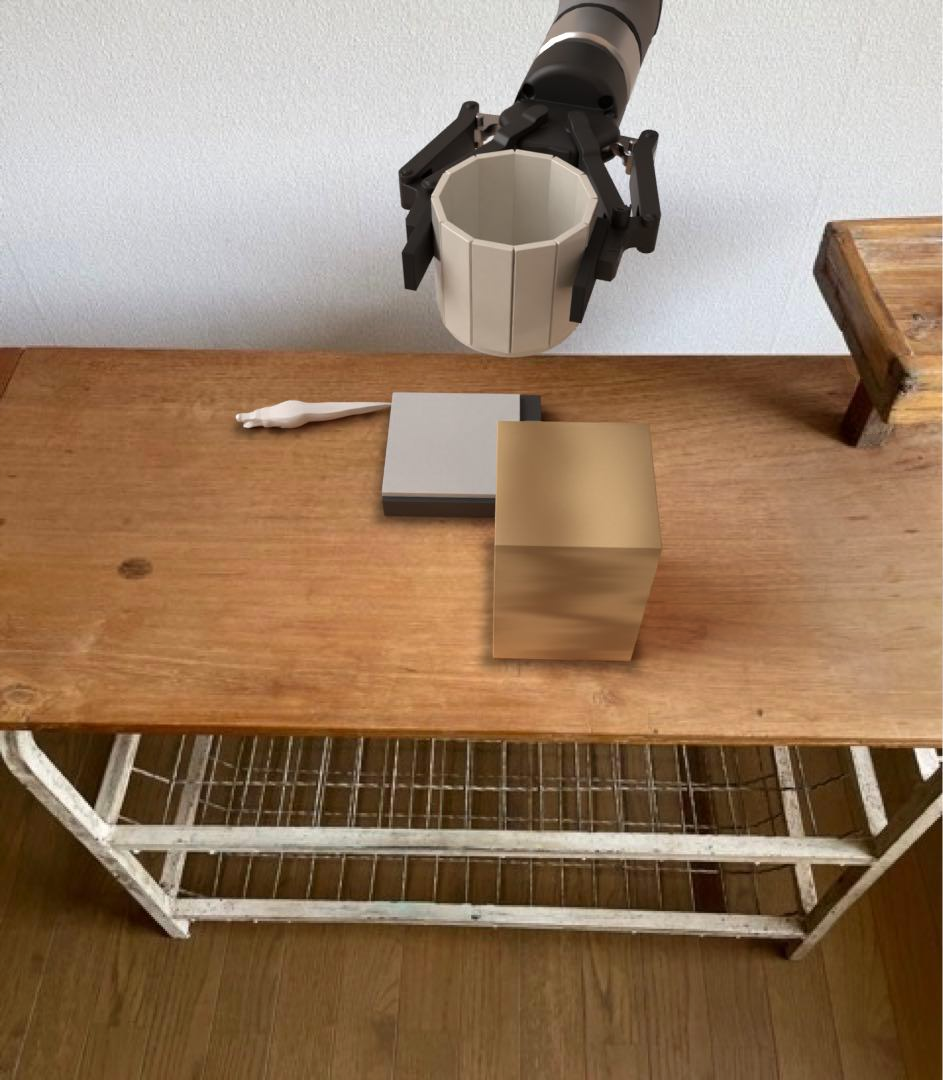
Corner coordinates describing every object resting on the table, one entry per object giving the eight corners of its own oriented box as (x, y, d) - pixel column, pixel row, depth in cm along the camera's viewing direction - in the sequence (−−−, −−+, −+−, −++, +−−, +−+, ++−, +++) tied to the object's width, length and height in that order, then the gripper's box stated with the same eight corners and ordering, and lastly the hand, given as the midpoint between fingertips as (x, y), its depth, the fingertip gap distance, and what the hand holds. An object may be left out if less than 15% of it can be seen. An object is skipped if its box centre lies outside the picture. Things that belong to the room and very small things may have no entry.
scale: (539, 410, 88) (541, 390, 86) (541, 518, 81) (542, 499, 79) (395, 408, 89) (393, 388, 87) (384, 516, 81) (381, 496, 79)
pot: (596, 276, 63) (611, 164, 56) (563, 373, 58) (575, 262, 51) (463, 251, 64) (461, 139, 57) (419, 343, 59) (411, 232, 52)
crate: (622, 547, 79) (649, 422, 66) (630, 661, 73) (662, 548, 60) (495, 545, 79) (497, 420, 66) (492, 658, 73) (494, 545, 60)
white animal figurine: (238, 437, 87) (234, 423, 85) (239, 416, 88) (234, 403, 87) (395, 420, 88) (394, 406, 86) (393, 400, 89) (391, 386, 88)
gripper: (720, 162, 67) (668, 372, 55) (433, 116, 71) (325, 302, 59) (745, 60, 61) (692, 271, 49) (428, 15, 65) (306, 200, 53)
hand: (491, 288), depth 54 cm, fingers closed on pot, 10 cm apart
